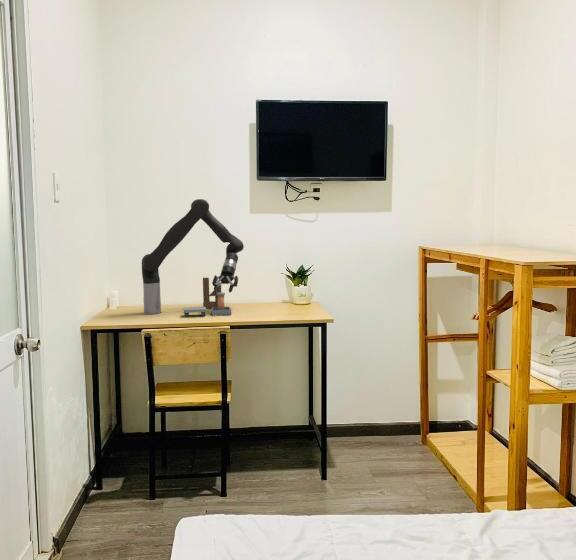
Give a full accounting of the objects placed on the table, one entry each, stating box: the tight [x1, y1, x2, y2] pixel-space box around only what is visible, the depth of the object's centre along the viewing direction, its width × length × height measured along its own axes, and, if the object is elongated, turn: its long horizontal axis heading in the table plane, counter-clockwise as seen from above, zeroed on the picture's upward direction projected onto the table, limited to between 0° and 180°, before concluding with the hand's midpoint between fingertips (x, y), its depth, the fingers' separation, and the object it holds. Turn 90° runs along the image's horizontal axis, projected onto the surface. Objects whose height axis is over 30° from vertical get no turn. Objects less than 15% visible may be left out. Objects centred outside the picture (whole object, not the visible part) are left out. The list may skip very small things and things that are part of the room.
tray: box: [211, 306, 232, 316], centre depth 326 cm, size 10×10×3 cm
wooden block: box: [202, 277, 222, 309], centre depth 346 cm, size 4×11×18 cm, turn 101°
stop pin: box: [217, 291, 226, 310], centre depth 326 cm, size 5×5×11 cm
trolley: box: [183, 306, 207, 318], centre depth 322 cm, size 12×8×4 cm, turn 100°
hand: (222, 291), depth 327 cm, fingers open, 8 cm apart
